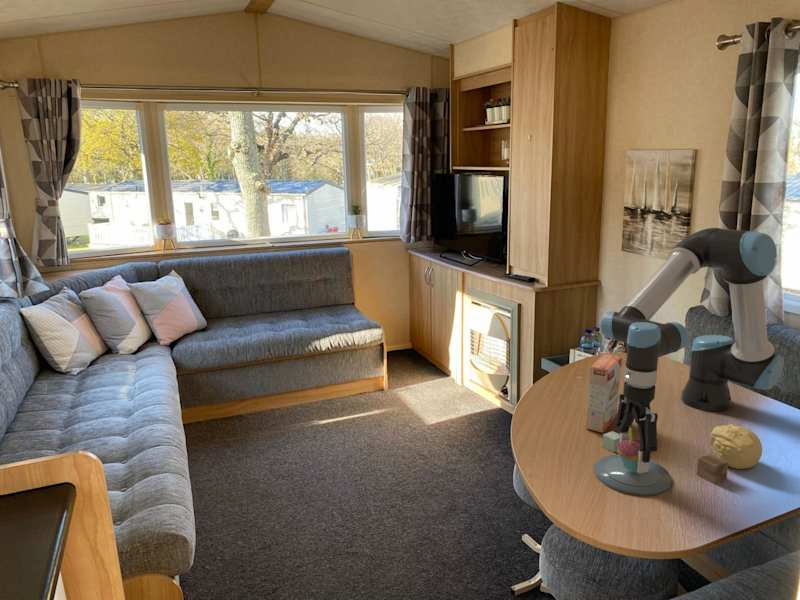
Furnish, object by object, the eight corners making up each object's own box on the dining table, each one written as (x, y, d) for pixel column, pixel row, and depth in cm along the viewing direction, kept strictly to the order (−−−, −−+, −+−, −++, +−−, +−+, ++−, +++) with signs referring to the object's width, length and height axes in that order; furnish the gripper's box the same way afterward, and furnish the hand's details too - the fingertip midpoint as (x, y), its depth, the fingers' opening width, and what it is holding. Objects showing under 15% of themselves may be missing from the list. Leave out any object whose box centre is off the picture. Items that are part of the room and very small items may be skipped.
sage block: (611, 443, 176) (612, 431, 175) (622, 448, 173) (623, 436, 172) (602, 446, 174) (603, 434, 173) (613, 452, 171) (614, 439, 170)
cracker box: (604, 434, 182) (609, 369, 176) (585, 429, 185) (589, 366, 180) (618, 417, 192) (623, 356, 187) (599, 413, 196) (603, 353, 191)
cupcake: (632, 477, 153) (635, 434, 150) (608, 461, 160) (611, 420, 157) (657, 469, 156) (661, 427, 153) (633, 455, 163) (636, 414, 160)
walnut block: (709, 470, 161) (711, 453, 159) (726, 479, 156) (728, 462, 155) (696, 475, 159) (698, 458, 157) (713, 484, 154) (715, 466, 153)
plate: (643, 454, 169) (644, 450, 169) (686, 490, 151) (687, 486, 151) (581, 461, 166) (581, 457, 166) (618, 499, 148) (618, 495, 148)
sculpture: (701, 458, 167) (705, 422, 164) (730, 449, 172) (735, 414, 169) (738, 478, 157) (743, 440, 154) (768, 467, 161) (774, 431, 159)
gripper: (605, 369, 162) (599, 445, 167) (650, 400, 142) (642, 486, 147) (630, 367, 163) (624, 443, 168) (678, 397, 143) (670, 482, 149)
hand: (632, 463), depth 158 cm, fingers closed on cupcake, 8 cm apart
